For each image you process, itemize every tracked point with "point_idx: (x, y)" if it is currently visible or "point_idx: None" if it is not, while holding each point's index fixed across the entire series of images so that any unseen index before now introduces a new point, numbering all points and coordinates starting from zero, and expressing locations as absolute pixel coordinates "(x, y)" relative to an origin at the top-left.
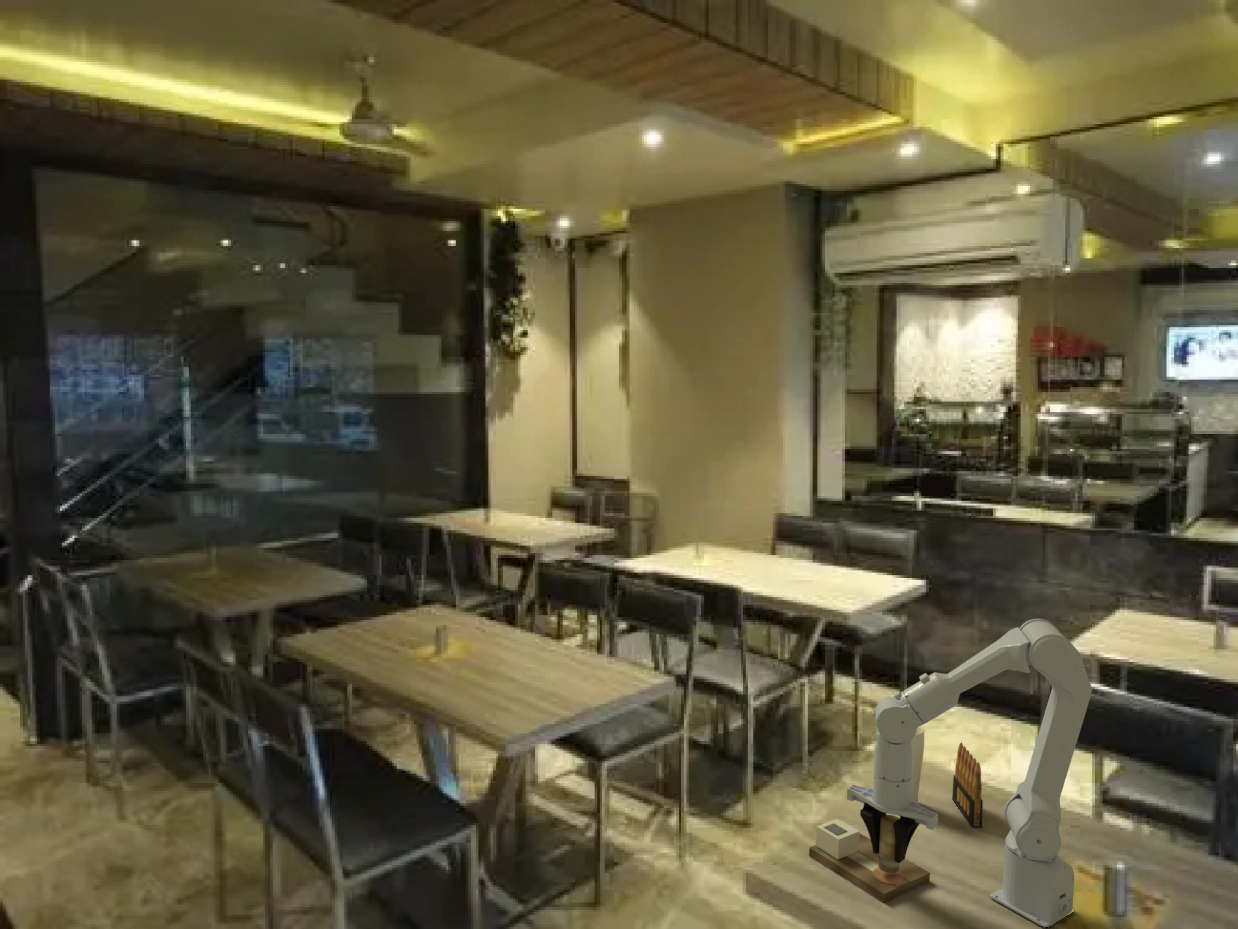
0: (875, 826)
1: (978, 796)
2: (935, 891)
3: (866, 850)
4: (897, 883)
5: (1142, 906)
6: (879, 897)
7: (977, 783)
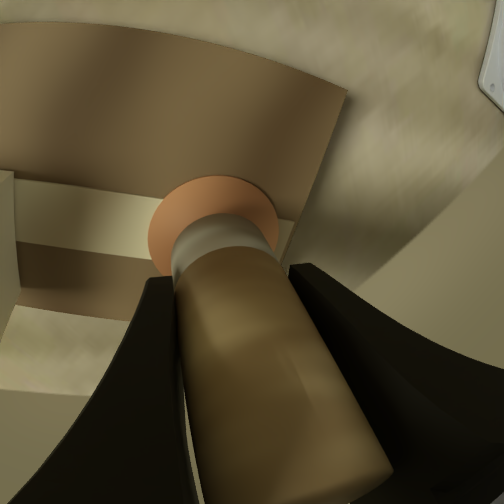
0: (196, 495)
1: None
2: (360, 135)
3: (27, 126)
4: None
5: None
6: None
7: None
